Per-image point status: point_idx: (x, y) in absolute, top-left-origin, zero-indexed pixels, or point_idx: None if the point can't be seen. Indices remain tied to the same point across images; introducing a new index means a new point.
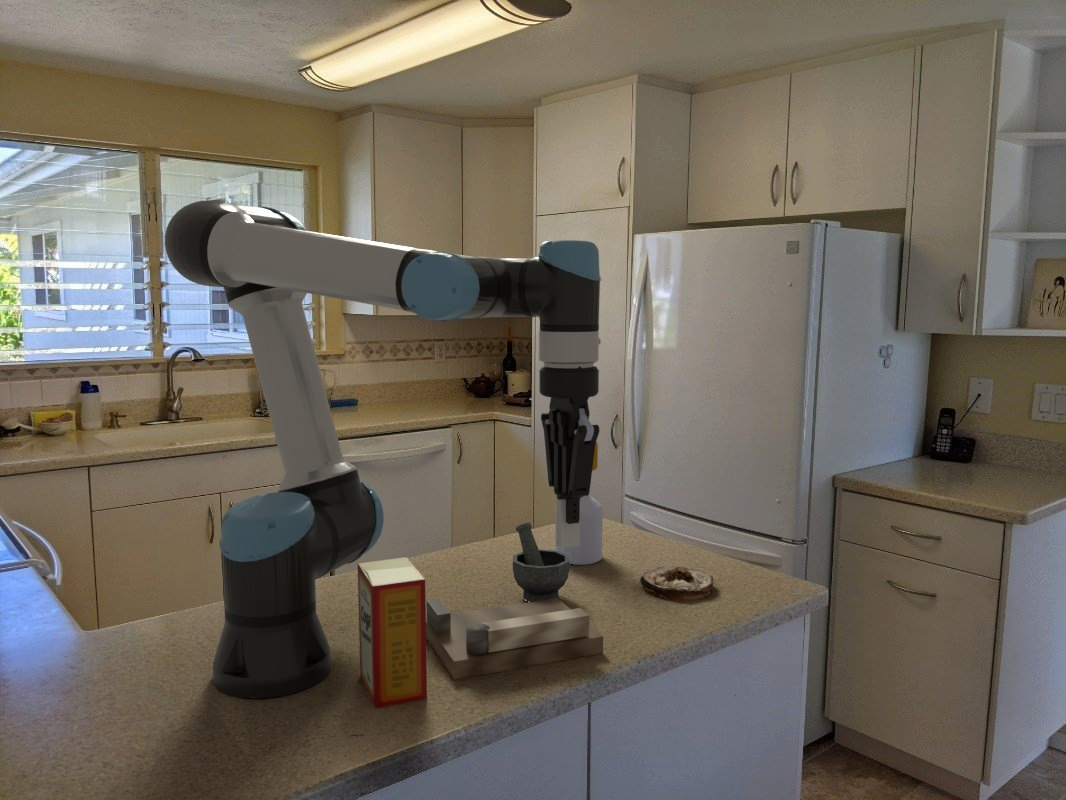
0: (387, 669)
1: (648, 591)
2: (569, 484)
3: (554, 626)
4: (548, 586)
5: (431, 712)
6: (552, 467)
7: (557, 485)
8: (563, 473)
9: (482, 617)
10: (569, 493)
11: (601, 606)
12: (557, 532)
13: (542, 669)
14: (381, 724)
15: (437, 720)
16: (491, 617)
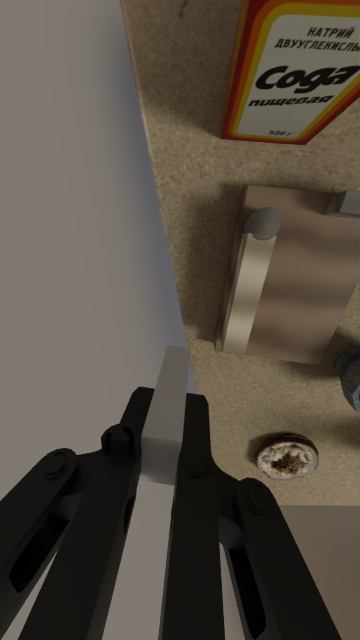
0: (236, 37)
1: (293, 435)
2: (38, 508)
3: (229, 313)
4: (345, 370)
5: (190, 132)
6: (271, 623)
7: (176, 490)
8: (82, 585)
9: (335, 272)
10: (50, 460)
11: (295, 392)
12: (182, 363)
13: (215, 283)
14: (192, 53)
15: (172, 132)
16: (327, 281)
